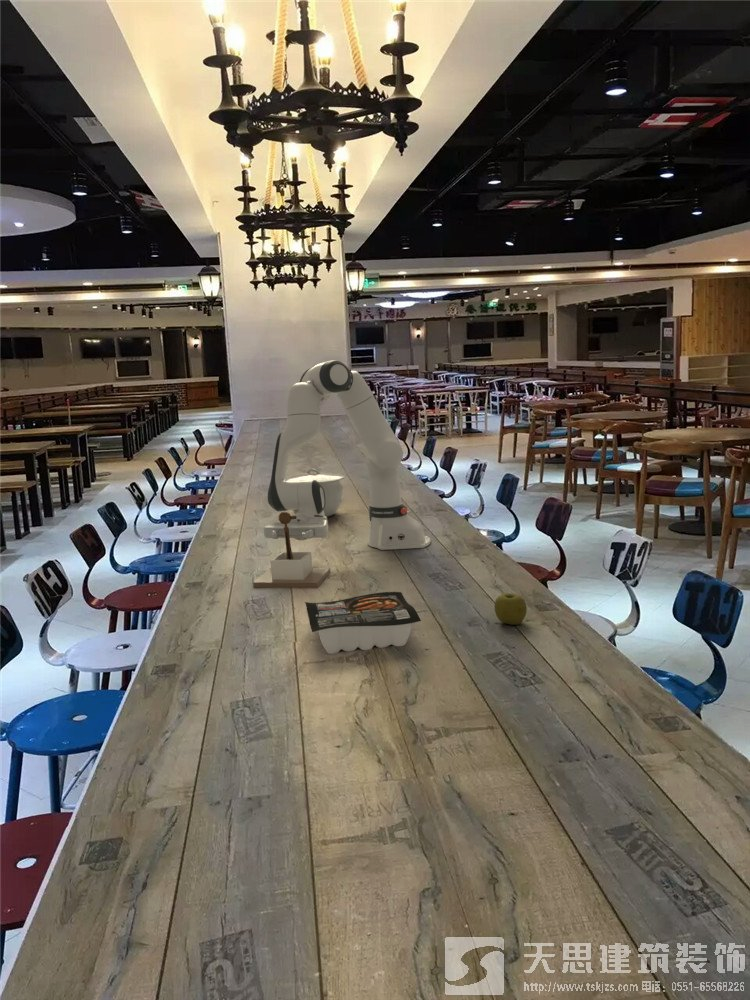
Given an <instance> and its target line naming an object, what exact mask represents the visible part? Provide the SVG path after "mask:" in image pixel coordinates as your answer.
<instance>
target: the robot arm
mask: <svg viewBox="0 0 750 1000" xmlns="http://www.w3.org/2000/svg"><path fill="white" fill-rule="evenodd" d="M332 395H335V396H336V397H337V398H338V399H339V401H340V403H341V404H342V407H343V409H344V411H345V413H346V415H347V417H348V419H349V421H350V423H351V425H352V427H353V429H354V431H355V432H356V434H357V435H358V437H359V438H360V440H361V442H362V444H363V447H364V448H363V450H364V459H365V465H366V473H367V478H368V479H367V480H368V487H369V490H368V491H369V503H370V504H369V506H368V515H369V522H370V529H369V536H368V542H367V545H368V546H369V547H371V548H377V549H379V550H380V551H381V550H382V551H386V550H407V549H408V550H409V549H423V548H426V547H428V546H429V545H430V544H431V538H430V537H429V536H427V535H425V532H424V527H423V526H422V524H421V523H420V522H419V521H417V520H416V519H414V518H413V517H412V516H410V515H408V506H407V504H406V505H404V504H403V503H402V497H401V494H402V493H401V481H400V476H399V472H398V465H399V464H401V462H402V460H403V457H404V451H403V447H402V445H401V443H400V442H399V440H398V438H397V436H396V434H395V432H394V431H393V429H392V427H391V426H390V424H389V422H388V421H387V419H386V418H385V415H384V414H383V412H382V410H381V408H380V406H379V404H378V402H377V400H376V398H375V396H374V394H373V392H372V390H371V388H370V387H369V385H368V384H367V381H365V379H364V377H363V376H362V375H361V374H360V373H359V372H358V371H357V370H350V369H349V367H348V366H347V365H346V364H345V363H344V362H342V361H340V360H334V359H332V360H327V361H324V362H321V363H318V364H316V365H315V366H313V367H310V368H308V369H307V370H305V371H304V372H303V374H302V375H301V377H300V380H299V382H297V383H294V384H293V385H291V386H290V388H289V390H288V396H287V403H286V424H285V427H284V429H283V431H281V432H280V433H279V434H278V436H277V439H276V443H275V449H274V455H273V460H272V469H271V478H270V483H269V486H268V490H267V503H268V505H269V506H270V507H271V508H272V509H273V510H274V511H276V512H278V513H279V512H288V511H292V510H299V512H297V513H296V514H293V515H292V516H296V519H291V521H290V522H289V523H288V524H287V527H289V528H288V529H289V537H290V539H295V540H298V541H306V540H308V539H313V538H314V539H315V538H318V539H320V538H322V539H323V538H327V537H328V536H329V521H328V517H326V516H325V515H324V508H325V492H324V489H323V487H322V486H321V485H320V484H319V483H318V482H317V481H316V480H301V481H286V480H285V477H287V476H286V475H287V469H288V468H287V466H288V461H289V456H290V454H291V453H292V452H293V451H295V450H296V449H298V448H299V447H302V446H305V445H307V444H309V443H310V442H312V441H313V440H315V438H316V437H317V436H318V435H319V433H320V430H321V423H322V422H321V420H322V419H321V408H320V407H321V406H320V405H321V402H322V400H323V398H325V397H326V398H327V397H330V396H332ZM284 527H285V526H284V524H282V523H281V522H280V521H279V522H272V523H269V524H267V525H264V526H263V536H264V538H266V539H273V540H274V539H275V540H278V539H285V533H284Z"/></svg>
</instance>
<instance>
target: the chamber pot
mask: <svg viewBox="0 0 750 1000" xmlns="http://www.w3.org/2000/svg"><path fill="white" fill-rule="evenodd" d="M345 478H346V475H345V474H342V473H340V472H334V471H319V470H317V469H315V468H312V467H311V468H309V469H308V470H307V472H301V473H299V472H298V473H295V474H291V475H287V476H285V480H286V481H301V480H316V481H317V482H318V483H319V484H320V485H321V486H322V487H323V489H324V492H325V508H324V515H325V516H326V517H327V518H328V517H330V516H333V515H335V514H336V513H337V511H338V510H339V508H340V506H341V504H342V502H343V496H344V487H343V485H342V483H341V480H344V479H345ZM291 511H292V513H293V515H295V514H296V513H297V512H299V510H291Z"/></svg>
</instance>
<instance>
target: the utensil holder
mask: <svg viewBox="0 0 750 1000" xmlns="http://www.w3.org/2000/svg"><path fill="white" fill-rule="evenodd" d="M292 555H293V559H294V560H287V553H286V551H280V552H278V553H277V555H275V556H273V558H272V559H271V560H270V567H269V568H268V569H266V571H264V572H263V573H262V574H261V575H260V576H259V577H257V578H256V579H255V580H254V581H253V582H252V585H253V588H295V589H296V588H298V589H299V588H301V589H303V588H311V589H313V588H315V589H318V588H319V587H320V586H321V584H322V583H323V582H324V581H325V580H326V579H327V577H328V576H329V575H330V574H331V567H313V561H312V552H311V551H292Z"/></svg>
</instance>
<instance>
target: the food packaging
mask: <svg viewBox="0 0 750 1000" xmlns="http://www.w3.org/2000/svg"><path fill="white" fill-rule="evenodd" d="M403 595H404V594H403V593H402V591H383V592H374V593H369V594H364V595H358V596H354V597H353V596H352V597H349V598H345V599H344V598H343V599H339V600H333V601H325V602H323V601H322V602H307V601H304V605H305V607H306V612H307V616H308V621H309V626H310V629H311V632H312V633H316V632H318V635H319V638H320V642H321V645H322V646H323V648H324V650H325V652H326V654H328V655H333V654H334V655H335V654H339V652H340V651H341V650H342V651H345V652H353V651H355V650H356V649H358V648H359V649H360V650H361V651H369V650H372V649H373V647H375V646H376V647H377V648H381V649H382V648H387V647H389V646H390V645H391V646H394V647H403V646H405V645H406V643H407V642H408V639H409V637H410V635H411V631H412V624H414V623H418V622H422V620H421V618H420V616H419V614H418V612H417V610H416V609H415V607H413V605H411V604H409V603H408V602H407V600H406V599H405V597H404V596H403Z"/></svg>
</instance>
